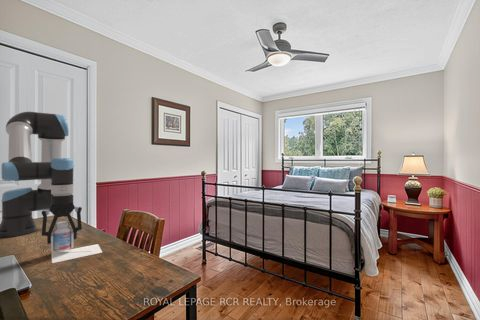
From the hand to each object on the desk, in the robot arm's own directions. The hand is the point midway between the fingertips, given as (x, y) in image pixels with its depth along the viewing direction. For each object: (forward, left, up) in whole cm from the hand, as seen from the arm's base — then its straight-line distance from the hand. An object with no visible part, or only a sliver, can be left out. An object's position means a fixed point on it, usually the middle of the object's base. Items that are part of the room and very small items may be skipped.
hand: (62, 248), depth 100 cm
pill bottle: (0, 0, -1) cm, 1 cm away
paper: (+3, +5, -2) cm, 6 cm away
